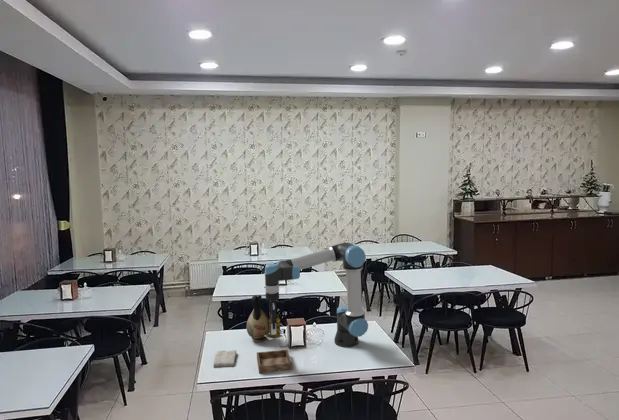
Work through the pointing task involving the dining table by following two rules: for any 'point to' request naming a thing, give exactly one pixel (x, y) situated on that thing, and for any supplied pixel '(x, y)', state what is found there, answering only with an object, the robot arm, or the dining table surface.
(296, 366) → the dining table surface
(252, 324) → the ceramic jug
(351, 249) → the robot arm
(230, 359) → the washcloth
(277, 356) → the tray
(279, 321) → the condiment
